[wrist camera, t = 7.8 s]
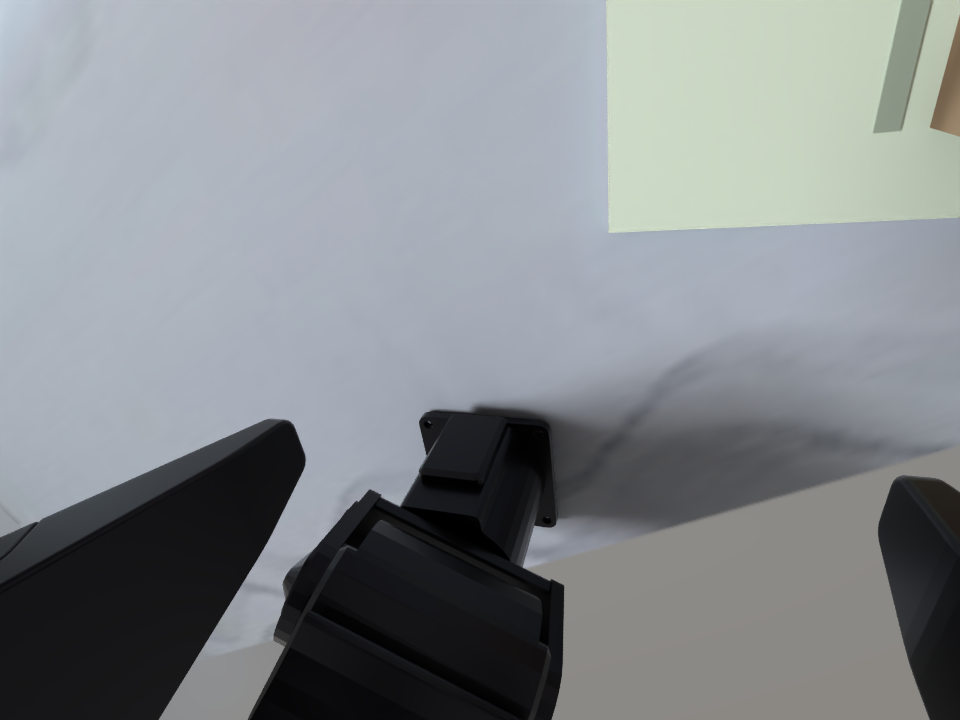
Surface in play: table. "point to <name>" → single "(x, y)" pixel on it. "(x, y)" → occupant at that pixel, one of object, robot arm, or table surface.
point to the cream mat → (777, 113)
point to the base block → (949, 92)
